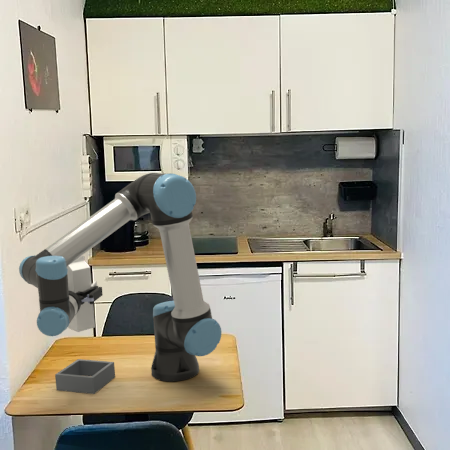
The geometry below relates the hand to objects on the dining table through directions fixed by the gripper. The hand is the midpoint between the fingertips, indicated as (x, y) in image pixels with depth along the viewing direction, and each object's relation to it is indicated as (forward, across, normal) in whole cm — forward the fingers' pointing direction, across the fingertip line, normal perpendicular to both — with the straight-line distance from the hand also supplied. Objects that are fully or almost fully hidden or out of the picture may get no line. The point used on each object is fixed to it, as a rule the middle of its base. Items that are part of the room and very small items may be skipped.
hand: (81, 286), depth 192 cm
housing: (-4, 0, -30) cm, 30 cm away
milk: (-4, 0, -12) cm, 13 cm away
